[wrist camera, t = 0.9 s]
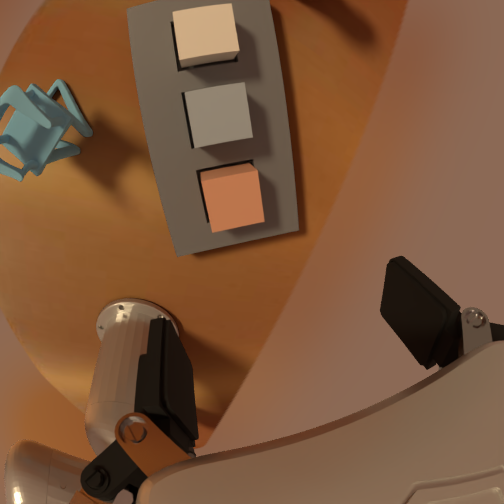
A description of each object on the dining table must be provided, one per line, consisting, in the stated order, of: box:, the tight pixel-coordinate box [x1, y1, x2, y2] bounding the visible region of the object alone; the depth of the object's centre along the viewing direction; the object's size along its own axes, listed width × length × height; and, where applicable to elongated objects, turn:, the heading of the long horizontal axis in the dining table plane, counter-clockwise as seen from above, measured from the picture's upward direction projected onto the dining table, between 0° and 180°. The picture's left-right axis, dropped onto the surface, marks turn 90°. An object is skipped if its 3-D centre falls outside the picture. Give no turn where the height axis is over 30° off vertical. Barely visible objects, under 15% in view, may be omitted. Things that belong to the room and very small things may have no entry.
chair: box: [0, 79, 93, 182], centre depth 18 cm, size 8×8×12 cm
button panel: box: [127, 0, 299, 257], centre depth 25 cm, size 28×14×3 cm, turn 8°
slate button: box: [185, 82, 253, 148], centre depth 23 cm, size 5×5×4 cm
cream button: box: [172, 3, 239, 68], centre depth 19 cm, size 5×5×4 cm
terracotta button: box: [200, 163, 265, 233], centre depth 27 cm, size 5×5×4 cm
